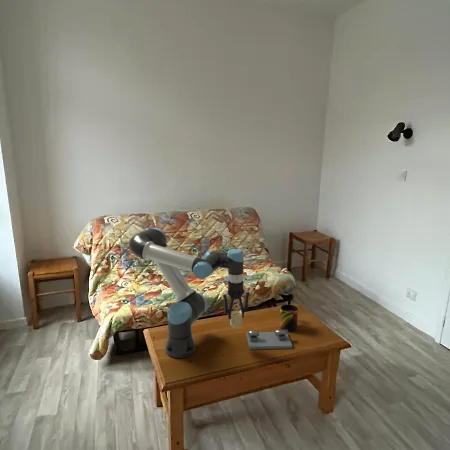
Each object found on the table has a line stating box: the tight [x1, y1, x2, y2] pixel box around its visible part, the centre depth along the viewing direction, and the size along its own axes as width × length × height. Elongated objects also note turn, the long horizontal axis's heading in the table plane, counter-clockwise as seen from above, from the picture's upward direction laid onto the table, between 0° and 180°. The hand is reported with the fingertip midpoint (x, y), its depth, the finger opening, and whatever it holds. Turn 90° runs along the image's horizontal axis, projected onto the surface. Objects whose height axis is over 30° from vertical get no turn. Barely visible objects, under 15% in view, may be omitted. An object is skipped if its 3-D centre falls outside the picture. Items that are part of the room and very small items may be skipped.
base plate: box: [246, 331, 293, 350], centre depth 181 cm, size 22×13×2 cm, turn 93°
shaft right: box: [274, 329, 289, 341], centre depth 182 cm, size 7×4×5 cm
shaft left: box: [247, 330, 259, 342], centre depth 180 cm, size 6×4×5 cm
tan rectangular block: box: [232, 310, 242, 329], centre depth 173 cm, size 6×4×6 cm
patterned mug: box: [279, 303, 299, 333], centre depth 196 cm, size 10×14×12 cm
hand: (236, 323), depth 174 cm, fingers closed on tan rectangular block, 4 cm apart
